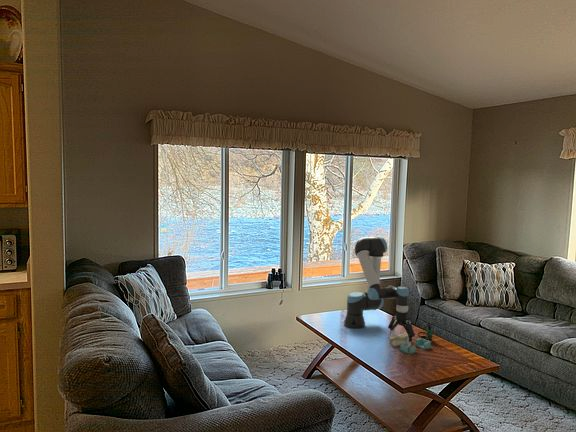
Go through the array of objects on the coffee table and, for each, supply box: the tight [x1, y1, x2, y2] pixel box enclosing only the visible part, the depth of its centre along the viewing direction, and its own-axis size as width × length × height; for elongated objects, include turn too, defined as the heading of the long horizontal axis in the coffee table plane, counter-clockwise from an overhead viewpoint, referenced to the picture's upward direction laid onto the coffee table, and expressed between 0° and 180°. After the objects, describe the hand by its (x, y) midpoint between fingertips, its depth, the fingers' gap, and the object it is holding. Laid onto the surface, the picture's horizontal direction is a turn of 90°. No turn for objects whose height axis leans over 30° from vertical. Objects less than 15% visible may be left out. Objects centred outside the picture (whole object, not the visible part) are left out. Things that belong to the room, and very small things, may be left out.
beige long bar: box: [389, 332, 408, 347], centre depth 282 cm, size 4×16×5 cm, turn 127°
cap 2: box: [415, 337, 432, 350], centre depth 277 cm, size 8×6×4 cm
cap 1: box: [399, 343, 416, 355], centre depth 268 cm, size 8×6×4 cm
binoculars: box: [417, 323, 434, 343], centre depth 288 cm, size 9×11×10 cm
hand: (400, 343), depth 282 cm, fingers open, 13 cm apart
